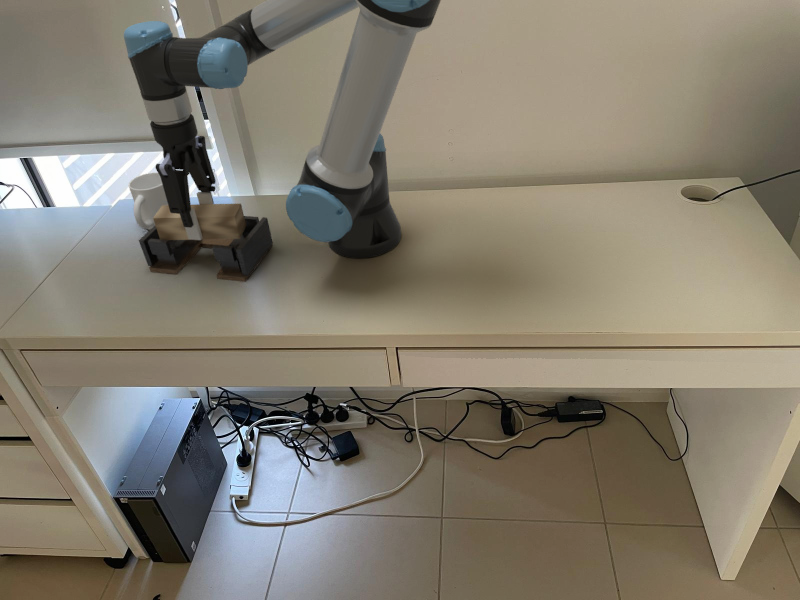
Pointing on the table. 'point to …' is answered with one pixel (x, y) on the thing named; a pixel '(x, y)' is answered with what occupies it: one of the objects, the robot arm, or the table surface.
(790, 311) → the table surface
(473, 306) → the table surface
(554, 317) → the table surface
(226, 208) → the rail
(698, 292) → the table surface
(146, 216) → the mug
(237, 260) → the brackets
